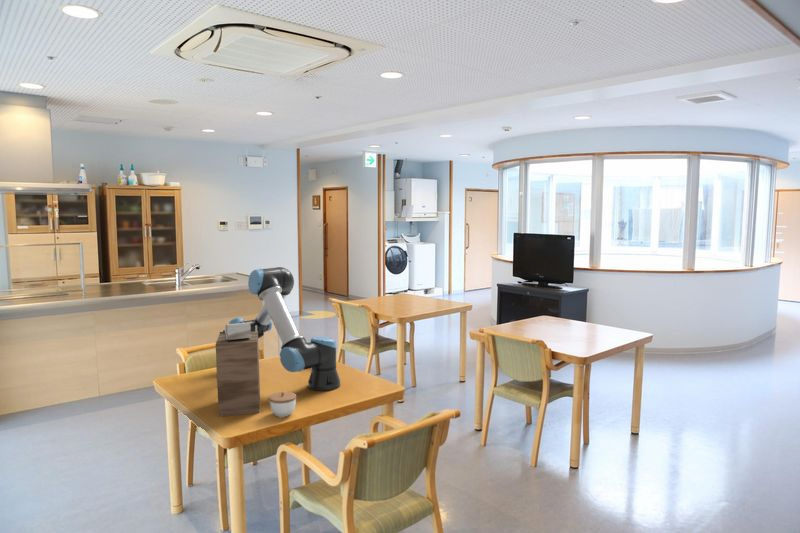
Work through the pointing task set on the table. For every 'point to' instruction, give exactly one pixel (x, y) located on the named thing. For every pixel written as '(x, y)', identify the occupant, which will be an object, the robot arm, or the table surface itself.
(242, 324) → the pale grey block
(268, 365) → the table surface
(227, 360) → the stand
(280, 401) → the lidded jar
